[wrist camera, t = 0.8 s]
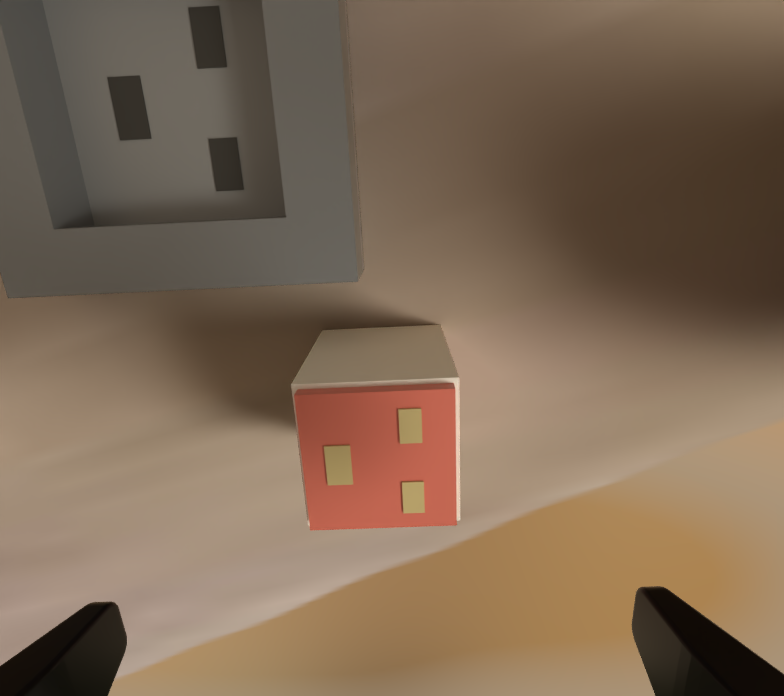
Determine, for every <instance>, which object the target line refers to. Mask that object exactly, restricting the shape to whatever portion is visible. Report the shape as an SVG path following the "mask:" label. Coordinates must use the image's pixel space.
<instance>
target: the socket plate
mask: <svg viewBox="0 0 784 696" xmlns="http://www.w3.org/2000/svg"><path fill="white" fill-rule="evenodd" d="M363 270H364V260H363V245H362V230H361V215H360V200H359V185H358V170H357V155H356V140H355V126H354V111H353V96H352V81H351V66H350V51H349V36H348V21H347V6H346V0H0V273H1V277H2V280H3V283H4V287H5V290H6V293H7V297H8V298H24V297H45V296H66V295H87V294H108V293H129V292H150V291H171V290H192V289H213V288H234V287H255V286H276V285H297V284H318V283H339V282H358V281H359V279H360V277H361V274H362V272H363Z"/></svg>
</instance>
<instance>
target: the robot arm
mask: <svg viewBox="0 0 784 696" xmlns="http://www.w3.org/2000/svg"><path fill="white" fill-rule="evenodd" d="M632 632H633V636H634V640H635V642H636V645H637V648H638V650H639V653H640V656H641V658H642V661H643V664H644V666H645V669H646V672H647V674H648V677H649V679H650V682H651V685H652V687H653V690H654V693H655V696H784V674H783V673H782V672H780V671H779V670H777V669H776V668H775V667H773V666H772V665H771V664H769V663H768V662H767V661H765V660H764V659H763V658H761V657H760V656H758V655H757V654H756V653H754V652H753V651H751V650H750V649H749V648H748V647H746V646H745V645H743V644H742V643H741V642H739V641H738V640H737V639H735V638H734V637H732V636H731V635H730V634H728V633H727V632H726V631H724V630H723V629H722V628H720V627H719V626H717V625H716V624H715V623H713V622H712V621H711V620H709V619H708V618H706V617H705V616H704V615H702V614H701V613H700V612H698V611H697V610H695V609H694V608H693V607H691V606H690V605H688V604H687V603H686V602H684V601H683V600H682V599H680V598H679V597H677V596H676V595H675V594H674V593H672V592H671V591H669V590H668V589H666V588H664V587H660V586H656V587H640V588H639V589H638V590H637V592H636V597H635V604H634V611H633V619H632ZM126 645H127V636H126V632H125V628H124V625H123V621H122V618H121V614H120V611H119V608H118V605H117V604H116V603H114V602H93V603H90V604H88V605H86V606H84V607H83V608H82V609H80V610H79V611H77V612H76V613H75V614H73V615H72V616H70V617H69V618H67V619H66V620H65V621H63V622H62V623H60V624H59V625H58V626H56V627H55V628H53V629H52V630H51V631H49V632H48V633H46V634H45V635H43V636H42V637H41V638H39V639H38V640H36V641H35V642H34V643H32V644H31V645H29V646H28V647H27V648H25V649H24V650H22V651H21V652H19V653H18V654H17V655H15V656H14V657H12V658H11V659H10V660H8V661H7V662H5V663H4V664H3V665H1V666H0V696H108V694H109V691H110V688H111V686H112V683H113V681H114V678H115V676H116V673H117V671H118V668H119V666H120V663H121V661H122V658H123V656H124V653H125V650H126Z"/></svg>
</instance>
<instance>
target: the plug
mask: <svg viewBox="0 0 784 696" xmlns="http://www.w3.org/2000/svg"><path fill="white" fill-rule="evenodd" d="M291 389H292V397H293V406H294V414H295V422H296V430H297V438H298V447H299V455H300V463H301V471H302V479H303V488H304V496H305V504H306V512H307V520H308V526H310V530H334V529H362V528H391V527H419V526H448V525H457V520H460V416H459V375H458V373H457V370H456V367H455V364H454V361H453V358H452V356H451V353H450V350H449V347H448V344H447V342H446V339H445V336H444V333H443V330H442V328H441V325H424V326H402V327H380V328H358V329H336V330H322V332H321V333H320V335H319V337H318V338H317V340H316V342H315V344H314V345H313V347H312V349H311V351H310V352H309V354H308V356H307V358H306V359H305V361H304V363H303V364H302V366H301V368H300V370H299V371H298V373H297V375H296V377H295V378H294V380H293V382H292V384H291Z"/></svg>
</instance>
